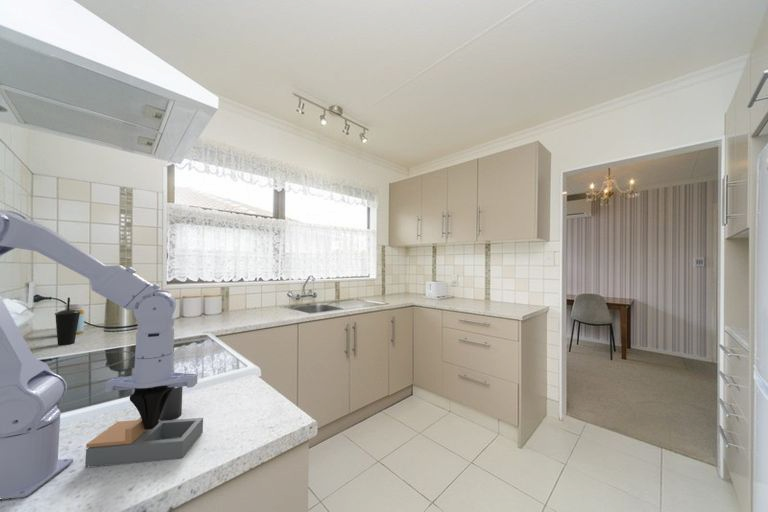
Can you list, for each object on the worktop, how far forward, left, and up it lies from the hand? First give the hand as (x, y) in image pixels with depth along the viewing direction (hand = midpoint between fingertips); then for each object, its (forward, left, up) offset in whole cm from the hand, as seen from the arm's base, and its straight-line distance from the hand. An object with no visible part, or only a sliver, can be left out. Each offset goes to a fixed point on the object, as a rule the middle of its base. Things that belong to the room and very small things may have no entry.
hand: (151, 426), depth 54 cm
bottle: (-93, +104, -4) cm, 139 cm away
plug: (-3, +12, -4) cm, 13 cm away
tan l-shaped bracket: (-4, 0, -1) cm, 5 cm away
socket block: (0, 0, -4) cm, 4 cm away
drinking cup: (-80, +84, -4) cm, 116 cm away
